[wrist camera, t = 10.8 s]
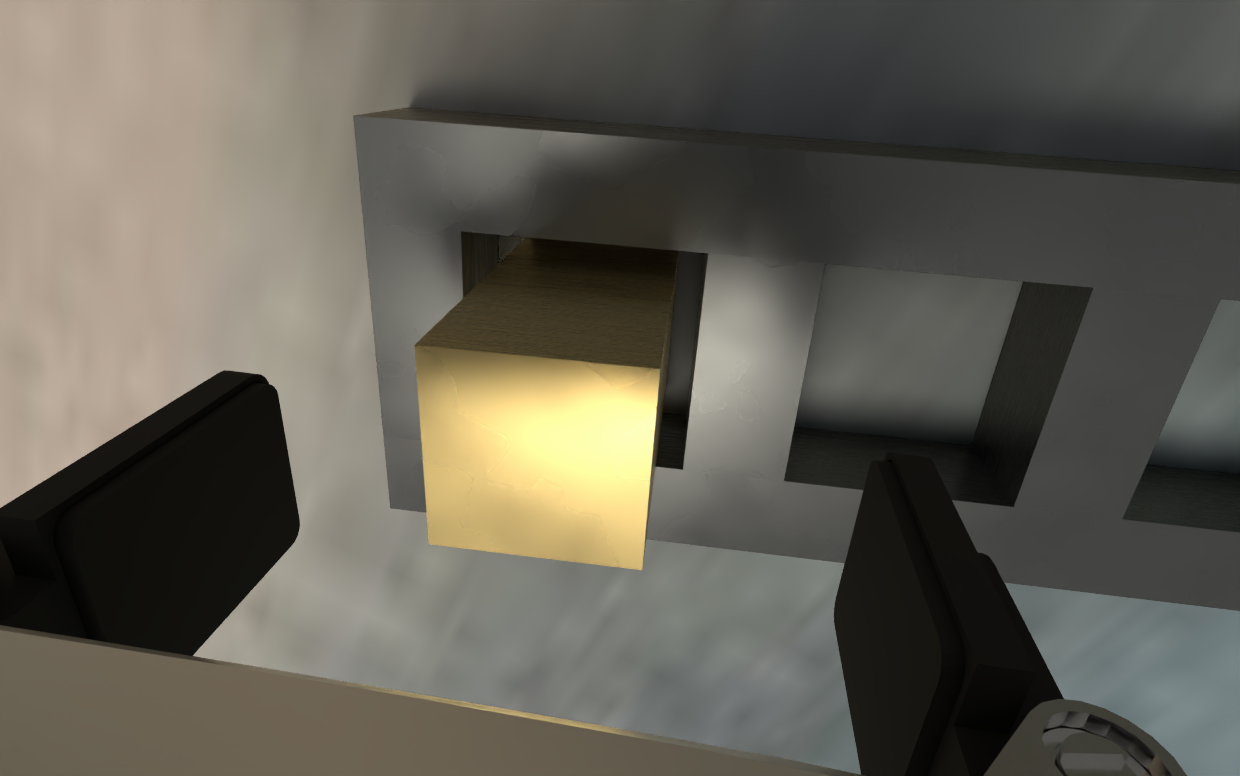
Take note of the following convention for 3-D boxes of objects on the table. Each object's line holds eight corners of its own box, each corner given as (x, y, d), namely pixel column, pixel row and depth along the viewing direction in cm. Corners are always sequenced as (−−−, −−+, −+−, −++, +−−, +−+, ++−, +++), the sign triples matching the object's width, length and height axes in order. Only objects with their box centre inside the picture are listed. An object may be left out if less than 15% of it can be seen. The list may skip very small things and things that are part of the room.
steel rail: (1544, 193, 16) (1720, 221, 13) (1323, 554, 20) (1420, 632, 17) (408, 107, 18) (353, 115, 15) (429, 453, 22) (390, 508, 19)
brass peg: (679, 248, 18) (659, 368, 11) (666, 386, 20) (641, 570, 13) (528, 235, 19) (414, 345, 11) (528, 372, 20) (429, 544, 13)
